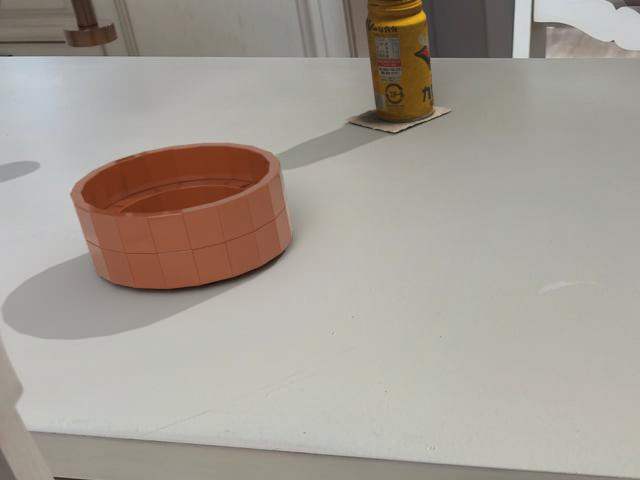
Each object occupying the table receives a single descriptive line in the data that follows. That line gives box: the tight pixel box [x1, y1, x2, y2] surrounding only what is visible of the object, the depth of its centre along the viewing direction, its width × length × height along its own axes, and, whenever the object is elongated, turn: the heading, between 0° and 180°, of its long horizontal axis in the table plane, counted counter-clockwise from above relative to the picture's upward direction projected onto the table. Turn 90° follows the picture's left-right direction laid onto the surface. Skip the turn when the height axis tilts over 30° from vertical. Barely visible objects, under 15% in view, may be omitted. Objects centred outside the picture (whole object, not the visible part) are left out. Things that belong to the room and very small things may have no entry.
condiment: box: [344, 0, 452, 133], centre depth 101 cm, size 7×8×12 cm
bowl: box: [69, 142, 294, 290], centre depth 79 cm, size 16×16×6 cm
